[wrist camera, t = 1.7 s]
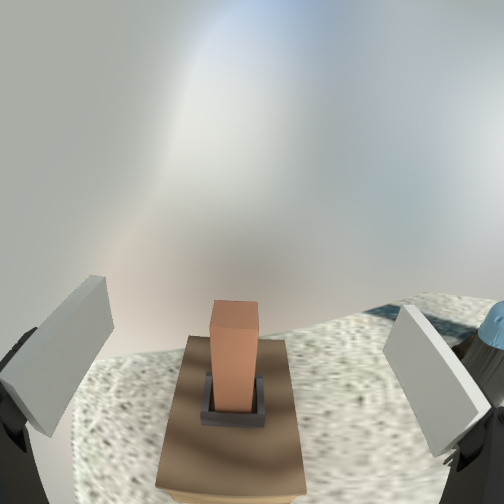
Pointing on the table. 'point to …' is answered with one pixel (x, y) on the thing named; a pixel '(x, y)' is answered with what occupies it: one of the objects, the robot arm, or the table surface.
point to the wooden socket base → (232, 435)
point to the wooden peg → (233, 354)
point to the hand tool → (464, 346)
